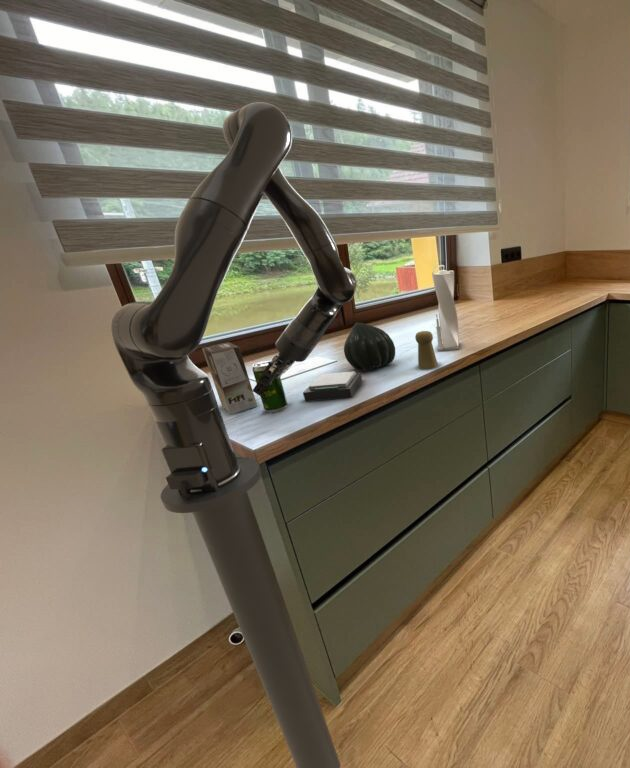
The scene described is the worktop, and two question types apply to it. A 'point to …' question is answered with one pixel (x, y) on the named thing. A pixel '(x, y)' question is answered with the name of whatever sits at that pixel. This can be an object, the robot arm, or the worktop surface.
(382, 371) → the worktop surface
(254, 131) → the robot arm
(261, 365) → the beer can
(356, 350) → the squash
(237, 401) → the coffee box
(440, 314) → the skyscraper
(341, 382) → the scale
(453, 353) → the worktop surface
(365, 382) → the worktop surface
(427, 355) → the cork
